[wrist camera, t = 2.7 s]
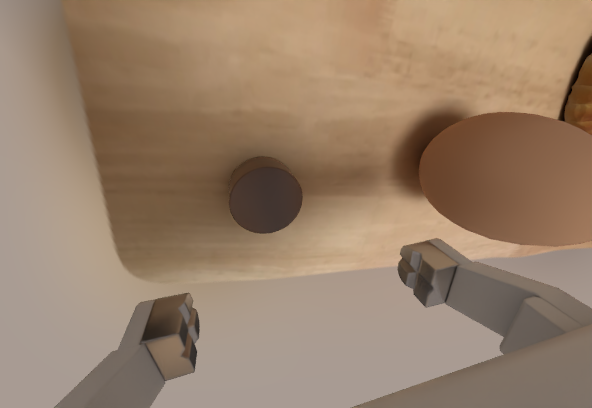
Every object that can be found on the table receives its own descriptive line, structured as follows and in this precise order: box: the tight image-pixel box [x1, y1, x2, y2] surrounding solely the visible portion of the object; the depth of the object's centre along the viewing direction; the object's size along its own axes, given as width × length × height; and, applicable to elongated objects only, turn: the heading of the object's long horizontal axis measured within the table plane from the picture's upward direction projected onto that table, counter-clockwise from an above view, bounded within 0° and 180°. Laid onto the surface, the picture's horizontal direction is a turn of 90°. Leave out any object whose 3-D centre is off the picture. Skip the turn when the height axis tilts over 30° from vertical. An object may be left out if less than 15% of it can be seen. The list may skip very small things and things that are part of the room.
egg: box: [419, 112, 592, 246], centre depth 15 cm, size 8×8×11 cm
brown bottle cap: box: [229, 157, 302, 233], centre depth 16 cm, size 5×5×2 cm
